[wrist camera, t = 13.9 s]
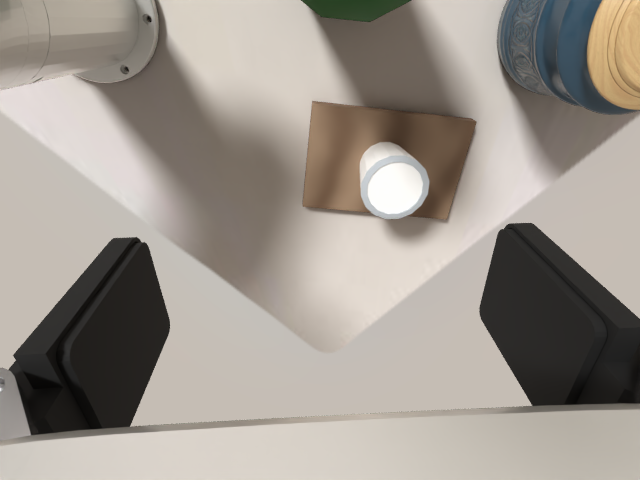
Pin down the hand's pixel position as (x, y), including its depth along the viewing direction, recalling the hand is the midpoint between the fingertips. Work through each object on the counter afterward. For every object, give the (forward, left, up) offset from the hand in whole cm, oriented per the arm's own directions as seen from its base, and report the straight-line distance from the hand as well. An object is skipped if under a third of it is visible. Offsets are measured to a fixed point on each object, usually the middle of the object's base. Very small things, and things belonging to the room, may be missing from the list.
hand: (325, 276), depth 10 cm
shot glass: (+9, -8, -34) cm, 36 cm away
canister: (+24, +8, -36) cm, 44 cm away
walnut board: (+9, -8, -35) cm, 37 cm away
